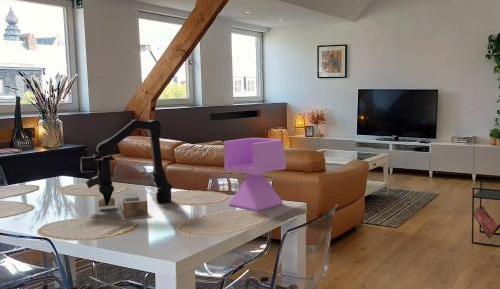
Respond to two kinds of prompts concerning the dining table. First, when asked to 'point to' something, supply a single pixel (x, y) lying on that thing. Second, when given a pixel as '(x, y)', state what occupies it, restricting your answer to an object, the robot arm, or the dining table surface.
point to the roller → (102, 203)
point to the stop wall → (135, 208)
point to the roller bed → (122, 205)
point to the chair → (254, 170)
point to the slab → (131, 197)
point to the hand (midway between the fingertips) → (106, 203)
